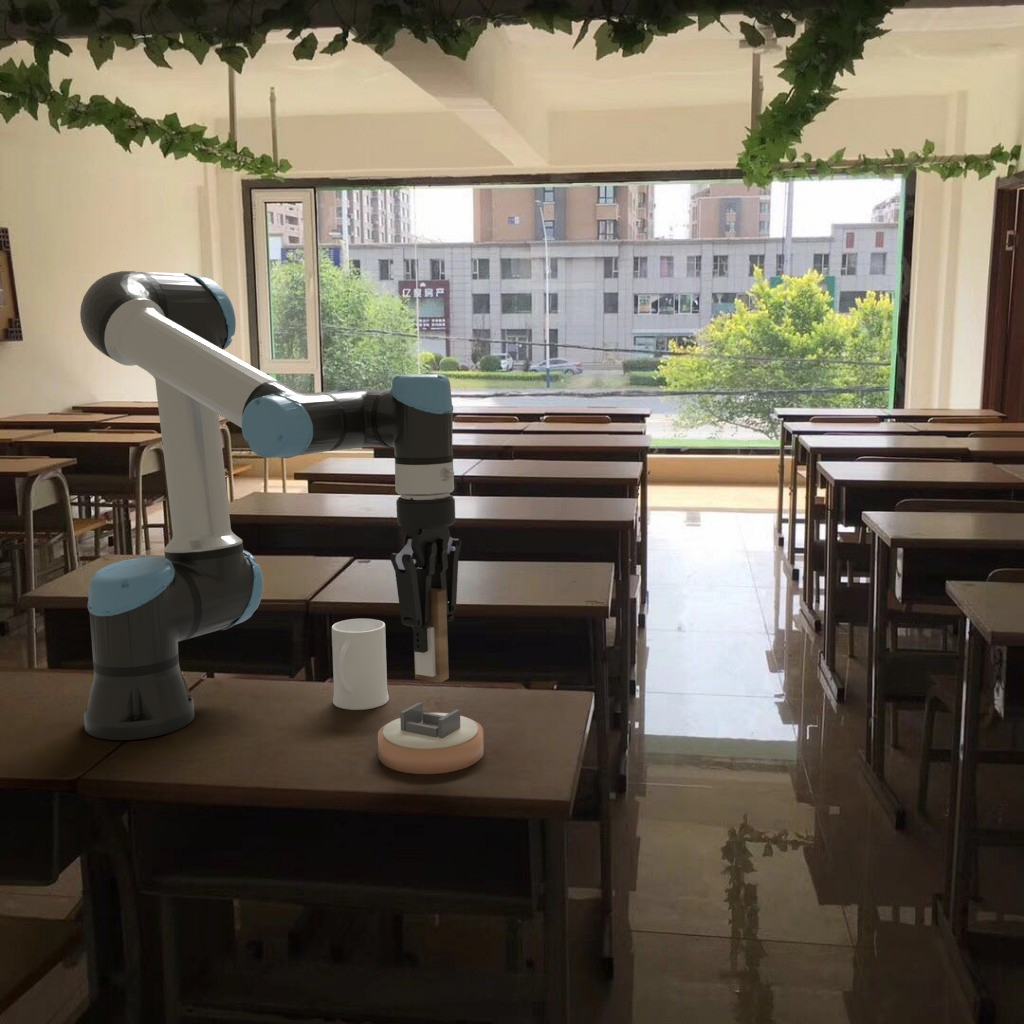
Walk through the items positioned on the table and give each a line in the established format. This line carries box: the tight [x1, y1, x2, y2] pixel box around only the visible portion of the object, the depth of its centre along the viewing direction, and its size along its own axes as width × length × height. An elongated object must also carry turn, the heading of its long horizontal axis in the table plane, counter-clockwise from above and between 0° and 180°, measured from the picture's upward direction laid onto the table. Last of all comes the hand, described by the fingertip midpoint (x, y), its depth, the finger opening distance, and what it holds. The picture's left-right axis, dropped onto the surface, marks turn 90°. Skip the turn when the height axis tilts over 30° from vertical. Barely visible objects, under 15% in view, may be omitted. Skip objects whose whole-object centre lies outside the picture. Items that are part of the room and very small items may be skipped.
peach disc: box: [377, 702, 484, 775], centre depth 143 cm, size 14×14×6 cm
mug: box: [331, 618, 390, 711], centre depth 162 cm, size 12×8×12 cm
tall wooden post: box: [413, 588, 450, 683], centre depth 141 cm, size 4×2×12 cm, turn 61°
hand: (431, 671), depth 142 cm, fingers closed on tall wooden post, 2 cm apart
